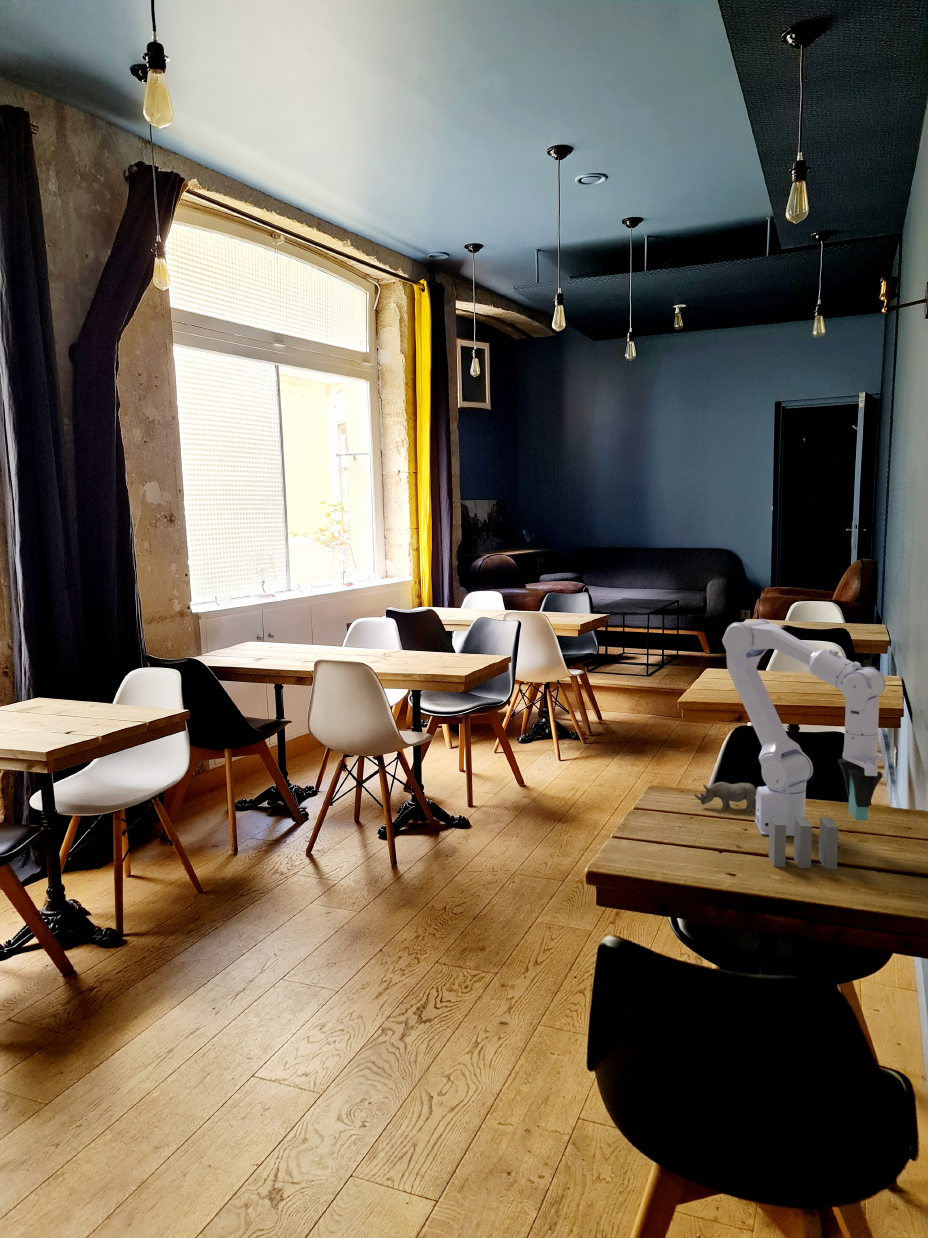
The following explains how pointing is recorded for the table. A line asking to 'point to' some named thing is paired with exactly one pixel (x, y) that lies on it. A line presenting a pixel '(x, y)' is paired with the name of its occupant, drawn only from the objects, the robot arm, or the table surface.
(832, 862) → the grey domino block
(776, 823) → the gray domino
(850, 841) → the table surface
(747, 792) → the rhino figurine
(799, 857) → the gray domino
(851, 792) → the teal domino
